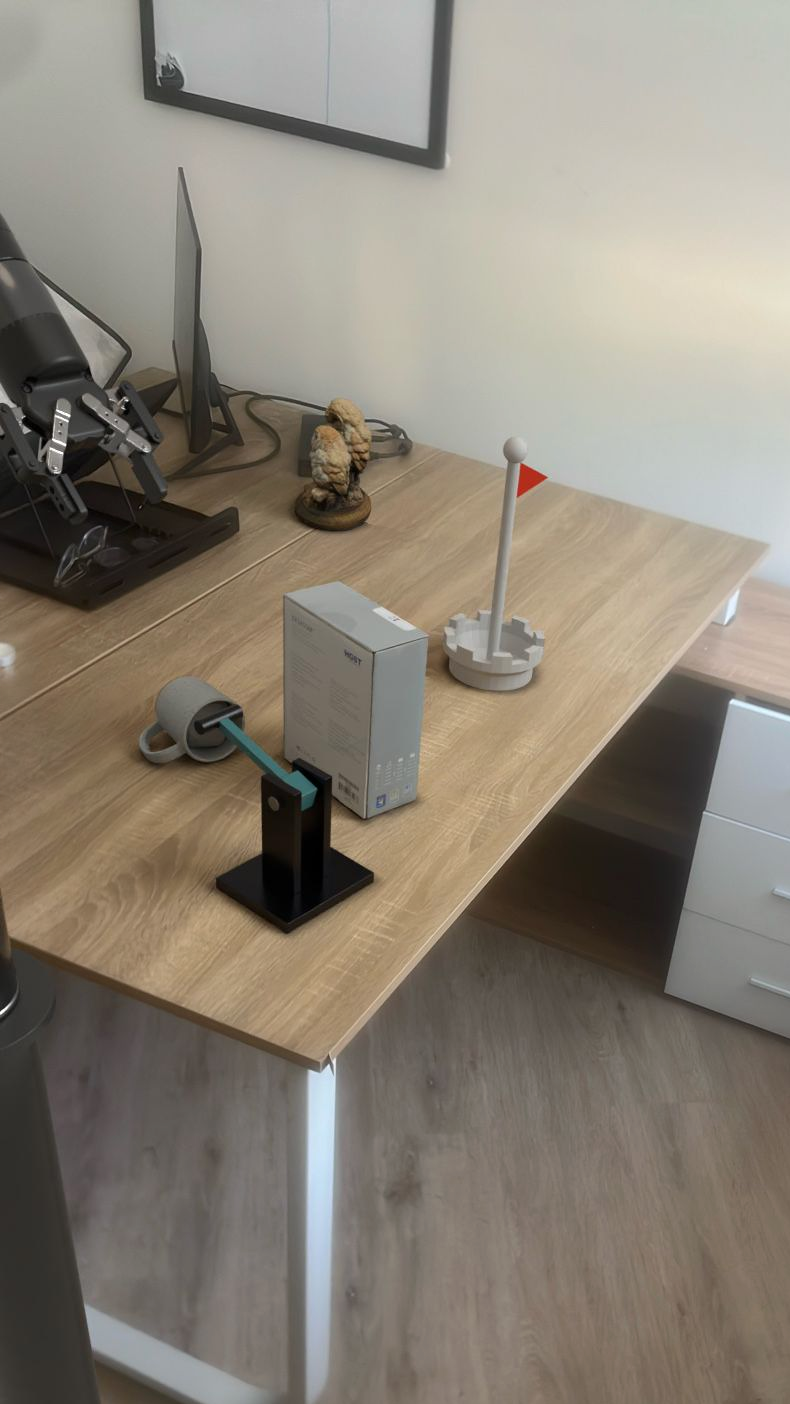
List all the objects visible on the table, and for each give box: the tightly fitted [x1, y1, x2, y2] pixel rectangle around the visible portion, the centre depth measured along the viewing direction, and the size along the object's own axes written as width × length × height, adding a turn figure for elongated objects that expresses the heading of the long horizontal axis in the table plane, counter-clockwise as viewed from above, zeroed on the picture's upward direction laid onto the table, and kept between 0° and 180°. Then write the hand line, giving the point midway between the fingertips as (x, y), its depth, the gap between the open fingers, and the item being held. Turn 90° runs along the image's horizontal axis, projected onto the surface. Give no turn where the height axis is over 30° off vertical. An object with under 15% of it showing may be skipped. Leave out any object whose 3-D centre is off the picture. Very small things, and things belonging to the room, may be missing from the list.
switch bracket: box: [215, 758, 375, 934], centre depth 123 cm, size 10×12×13 cm
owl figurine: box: [294, 397, 373, 532], centre depth 196 cm, size 18×12×17 cm, turn 0°
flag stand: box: [442, 436, 549, 692], centre depth 158 cm, size 13×13×30 cm
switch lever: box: [194, 703, 317, 811], centre depth 121 cm, size 13×5×2 cm, turn 53°
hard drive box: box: [282, 580, 430, 819], centre depth 137 cm, size 16×8×20 cm, turn 44°
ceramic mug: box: [138, 675, 246, 764], centre depth 141 cm, size 11×8×8 cm
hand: (122, 509), depth 112 cm, fingers open, 8 cm apart
